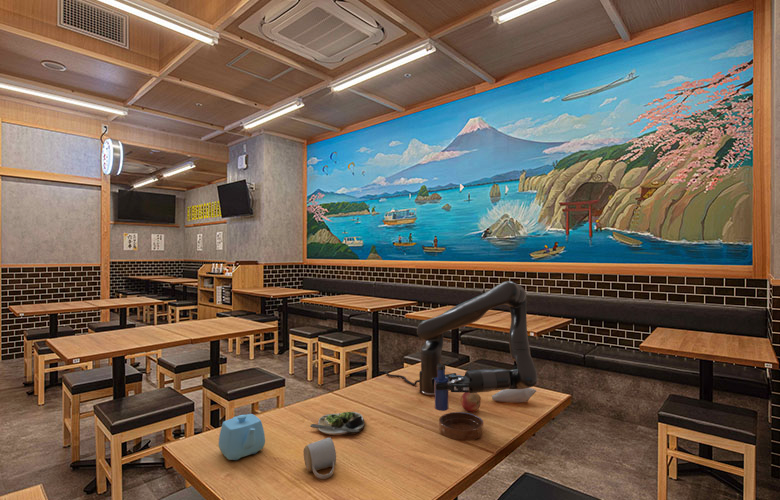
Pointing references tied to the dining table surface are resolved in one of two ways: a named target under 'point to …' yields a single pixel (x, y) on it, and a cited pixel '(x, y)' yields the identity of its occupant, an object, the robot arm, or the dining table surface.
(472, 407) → the fruit
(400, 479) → the dining table surface
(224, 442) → the teapot
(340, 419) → the salad plate
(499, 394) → the seashell
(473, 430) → the bowl
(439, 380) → the soy bottle
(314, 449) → the ceramic mug
